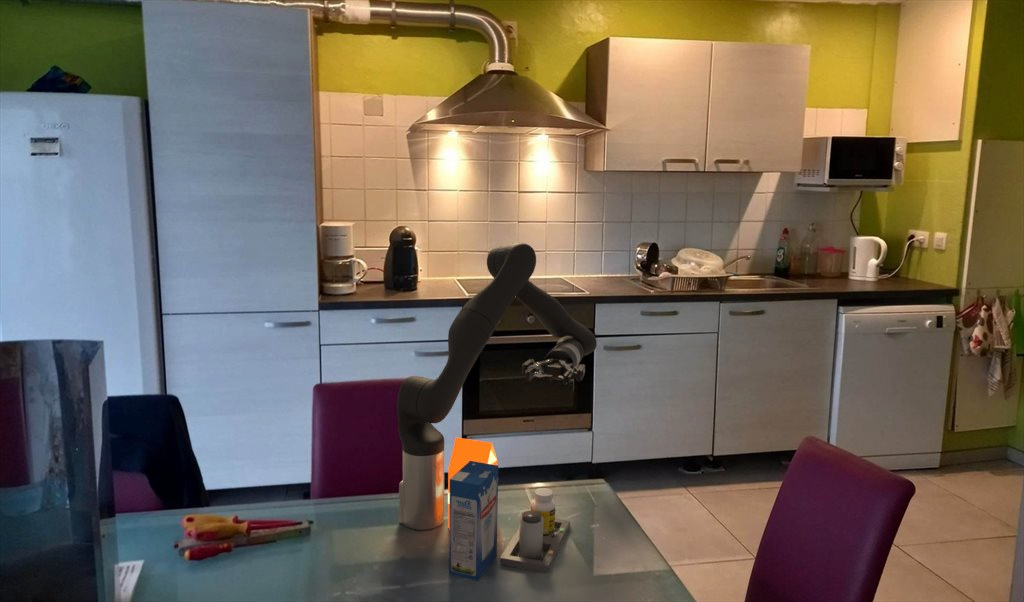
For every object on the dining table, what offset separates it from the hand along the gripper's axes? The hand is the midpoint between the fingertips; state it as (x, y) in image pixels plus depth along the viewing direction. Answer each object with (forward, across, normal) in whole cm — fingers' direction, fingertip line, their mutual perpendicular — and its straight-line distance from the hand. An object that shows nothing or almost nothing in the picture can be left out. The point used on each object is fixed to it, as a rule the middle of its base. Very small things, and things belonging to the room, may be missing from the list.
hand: (546, 378), depth 169 cm
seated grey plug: (+21, +3, +32) cm, 38 cm away
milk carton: (+28, -7, +32) cm, 43 cm away
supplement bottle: (+11, +3, +32) cm, 34 cm away
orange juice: (+12, -13, +32) cm, 37 cm away
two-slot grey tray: (+16, +3, +32) cm, 36 cm away
